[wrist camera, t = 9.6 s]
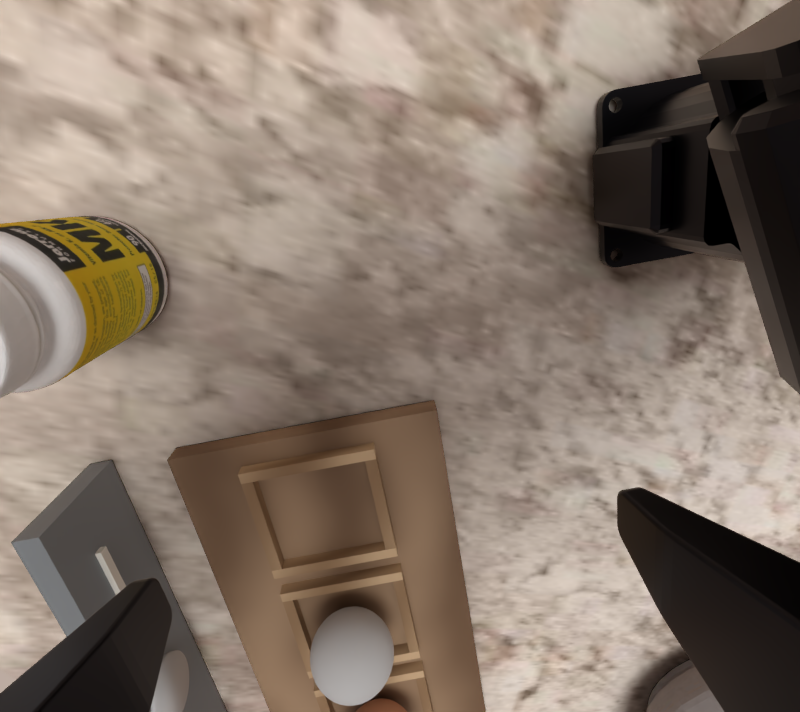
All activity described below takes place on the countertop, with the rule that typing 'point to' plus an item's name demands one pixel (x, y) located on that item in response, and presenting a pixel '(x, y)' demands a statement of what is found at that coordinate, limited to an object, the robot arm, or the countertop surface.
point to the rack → (338, 551)
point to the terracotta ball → (381, 706)
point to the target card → (110, 576)
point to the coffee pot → (682, 692)
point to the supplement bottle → (71, 295)
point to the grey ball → (352, 656)
